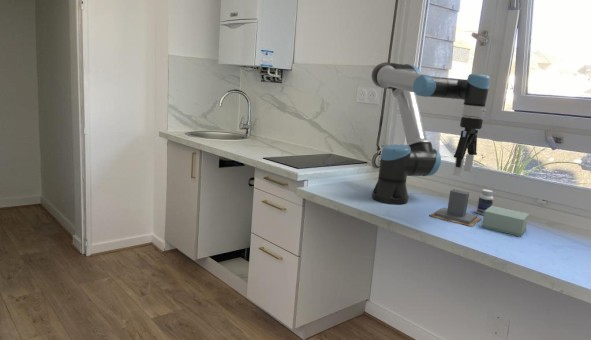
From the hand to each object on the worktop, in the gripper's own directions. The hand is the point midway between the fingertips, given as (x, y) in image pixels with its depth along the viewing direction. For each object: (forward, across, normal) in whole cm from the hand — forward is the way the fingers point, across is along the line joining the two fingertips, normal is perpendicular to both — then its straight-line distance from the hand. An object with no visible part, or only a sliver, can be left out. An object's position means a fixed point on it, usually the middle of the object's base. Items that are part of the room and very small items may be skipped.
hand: (462, 173), depth 165 cm
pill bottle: (+18, +16, -7) cm, 25 cm away
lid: (+17, 0, 0) cm, 17 cm away
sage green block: (+17, +2, -17) cm, 25 cm away
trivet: (+18, 0, 0) cm, 18 cm away
